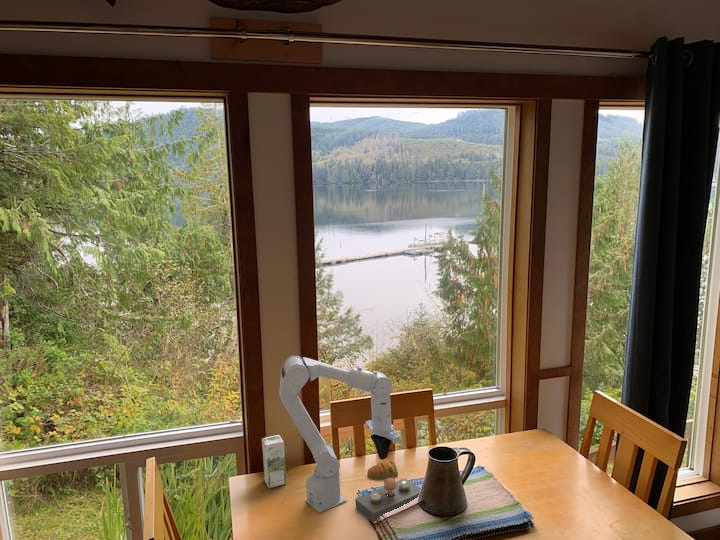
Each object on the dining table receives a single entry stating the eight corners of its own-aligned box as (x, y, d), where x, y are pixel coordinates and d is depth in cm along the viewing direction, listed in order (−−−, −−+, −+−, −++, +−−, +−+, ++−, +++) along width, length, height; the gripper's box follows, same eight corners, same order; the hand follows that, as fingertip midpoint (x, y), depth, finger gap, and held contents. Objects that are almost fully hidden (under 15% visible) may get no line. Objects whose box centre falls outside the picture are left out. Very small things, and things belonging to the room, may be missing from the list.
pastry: (371, 482, 165) (371, 471, 164) (364, 472, 171) (363, 461, 171) (399, 476, 168) (399, 465, 167) (391, 466, 174) (391, 455, 174)
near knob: (375, 514, 147) (374, 498, 146) (368, 508, 150) (367, 493, 149) (384, 509, 149) (383, 494, 148) (377, 504, 151) (377, 489, 151)
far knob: (403, 501, 153) (402, 486, 152) (396, 496, 155) (396, 481, 155) (412, 497, 154) (411, 482, 154) (405, 492, 157) (404, 477, 156)
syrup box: (281, 476, 171) (278, 433, 169) (286, 485, 165) (283, 440, 163) (264, 480, 168) (261, 437, 167) (268, 489, 163) (265, 444, 161)
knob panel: (374, 523, 143) (373, 513, 143) (355, 508, 151) (355, 498, 150) (425, 500, 153) (424, 490, 153) (405, 487, 161) (405, 478, 160)
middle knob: (389, 500, 150) (388, 484, 149) (382, 495, 152) (381, 480, 152) (398, 496, 151) (397, 481, 151) (391, 491, 154) (390, 476, 153)
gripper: (407, 418, 153) (409, 463, 154) (377, 403, 165) (379, 445, 166) (387, 424, 149) (389, 470, 150) (358, 409, 161) (360, 452, 162)
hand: (383, 457), depth 158 cm, fingers closed
